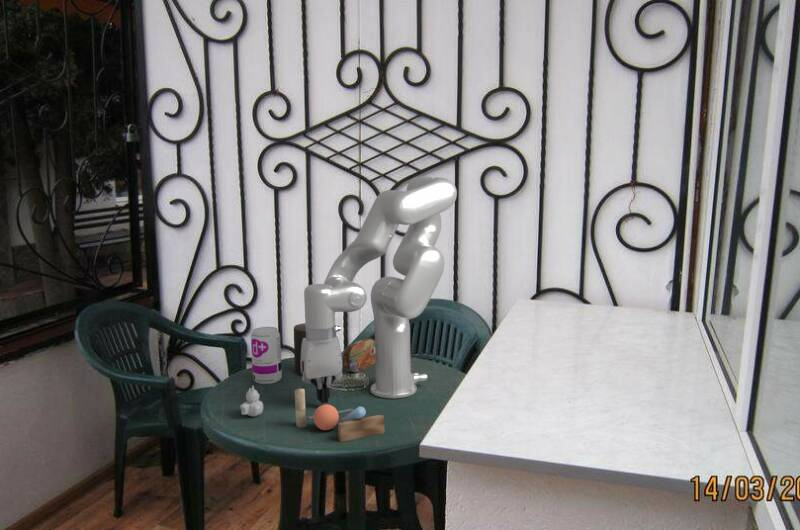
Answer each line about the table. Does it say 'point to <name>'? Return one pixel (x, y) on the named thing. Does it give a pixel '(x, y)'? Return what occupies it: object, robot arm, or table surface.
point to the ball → (326, 417)
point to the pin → (354, 414)
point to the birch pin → (300, 408)
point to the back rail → (361, 428)
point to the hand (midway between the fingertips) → (323, 401)
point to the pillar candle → (298, 345)
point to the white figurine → (252, 403)
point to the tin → (359, 355)
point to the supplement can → (266, 355)
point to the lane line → (338, 412)
